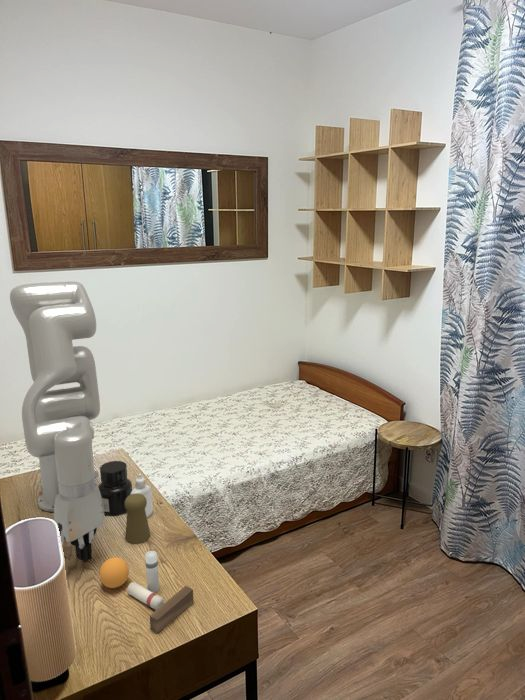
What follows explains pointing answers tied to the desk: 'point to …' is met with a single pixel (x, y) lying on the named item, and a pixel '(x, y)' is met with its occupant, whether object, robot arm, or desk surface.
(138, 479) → the eye dropper bottle
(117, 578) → the ball
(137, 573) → the desk surface
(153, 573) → the rear pin
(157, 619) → the rail
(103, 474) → the ink bottle
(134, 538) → the olive pawn
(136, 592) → the front pin
